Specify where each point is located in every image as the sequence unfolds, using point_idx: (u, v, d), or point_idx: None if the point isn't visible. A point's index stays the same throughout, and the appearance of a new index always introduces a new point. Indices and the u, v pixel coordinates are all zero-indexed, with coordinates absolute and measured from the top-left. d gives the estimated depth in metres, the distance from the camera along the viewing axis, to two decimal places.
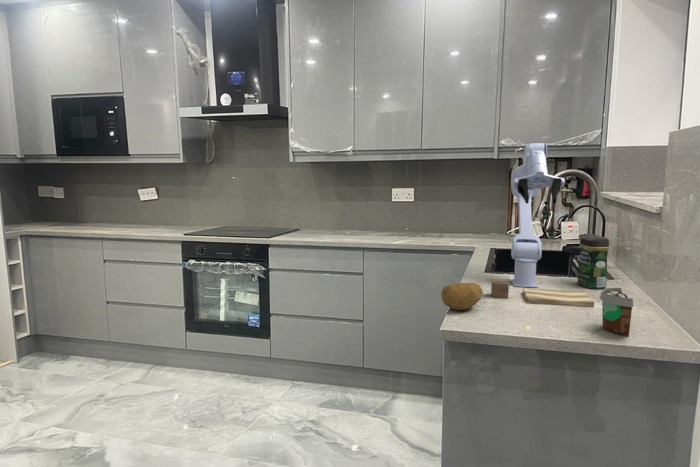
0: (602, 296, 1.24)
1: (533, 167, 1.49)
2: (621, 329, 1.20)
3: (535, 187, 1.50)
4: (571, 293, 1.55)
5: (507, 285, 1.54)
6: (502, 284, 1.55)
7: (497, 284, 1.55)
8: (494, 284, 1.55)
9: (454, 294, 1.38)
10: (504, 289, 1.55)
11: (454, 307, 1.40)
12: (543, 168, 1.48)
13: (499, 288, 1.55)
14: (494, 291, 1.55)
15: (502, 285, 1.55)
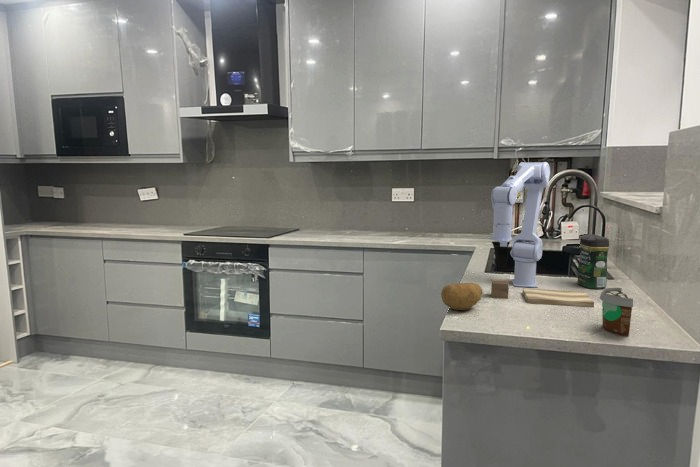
0: (602, 296, 1.24)
1: None
2: (621, 329, 1.20)
3: None
4: (571, 293, 1.55)
5: (507, 285, 1.54)
6: (502, 284, 1.55)
7: (497, 284, 1.55)
8: (494, 284, 1.55)
9: (454, 294, 1.38)
10: (504, 289, 1.55)
11: (454, 307, 1.40)
12: (494, 229, 1.54)
13: (499, 288, 1.55)
14: (494, 291, 1.55)
15: (502, 285, 1.55)
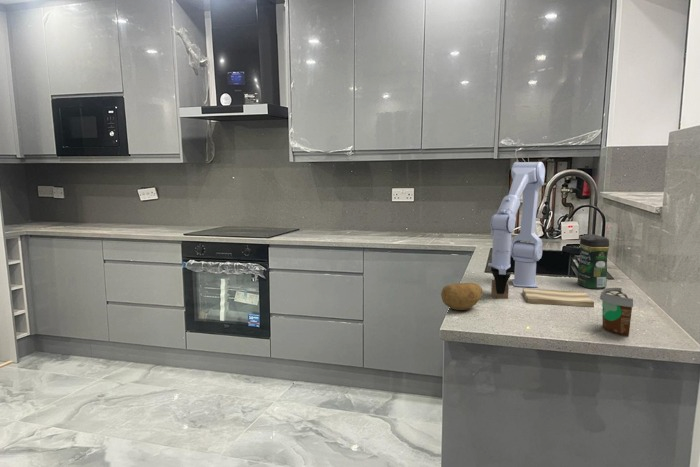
0: (602, 296, 1.24)
1: None
2: (621, 329, 1.20)
3: None
4: (571, 293, 1.55)
5: (507, 285, 1.54)
6: None
7: None
8: (494, 284, 1.55)
9: (454, 294, 1.38)
10: None
11: (454, 307, 1.40)
12: (493, 256, 1.55)
13: None
14: (494, 291, 1.55)
15: None
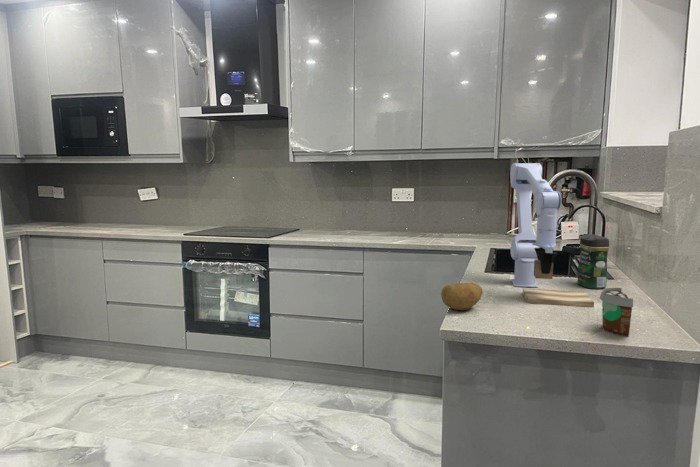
0: (602, 296, 1.24)
1: None
2: (621, 329, 1.20)
3: None
4: (571, 293, 1.55)
5: (552, 265, 1.50)
6: None
7: None
8: (538, 264, 1.51)
9: (454, 294, 1.38)
10: None
11: (454, 307, 1.40)
12: (538, 235, 1.51)
13: None
14: (538, 271, 1.52)
15: None
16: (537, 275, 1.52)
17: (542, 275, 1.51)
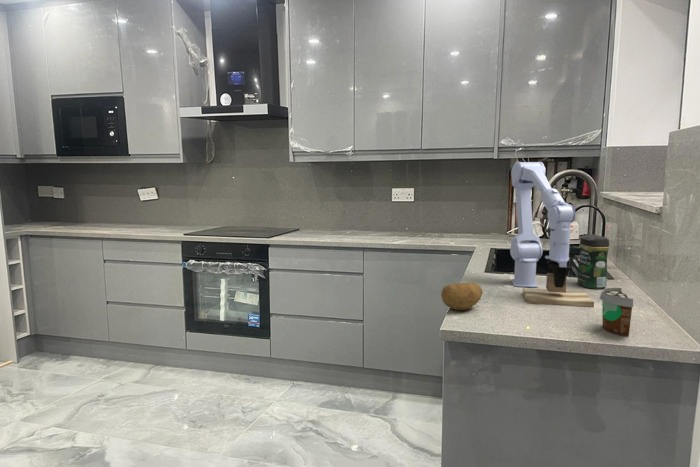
0: (602, 296, 1.24)
1: None
2: (621, 329, 1.20)
3: None
4: (571, 293, 1.55)
5: (565, 279, 1.50)
6: None
7: None
8: (551, 277, 1.51)
9: (454, 294, 1.38)
10: None
11: (454, 307, 1.40)
12: (551, 249, 1.51)
13: None
14: (551, 285, 1.51)
15: None
16: (550, 289, 1.51)
17: (555, 289, 1.51)
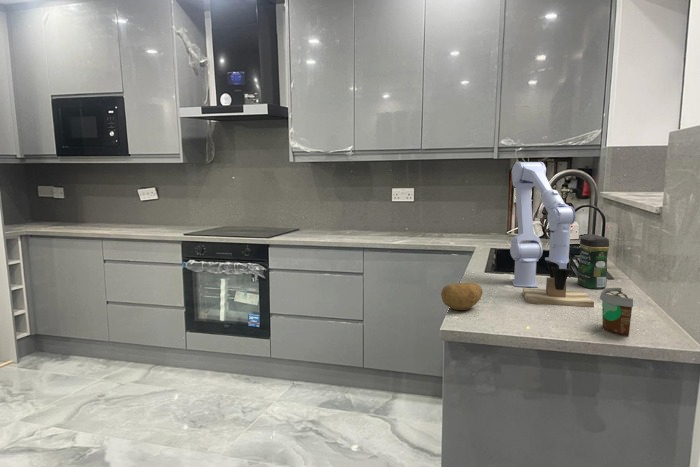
0: (602, 296, 1.24)
1: None
2: (621, 329, 1.20)
3: None
4: (571, 293, 1.55)
5: (565, 283, 1.50)
6: None
7: (554, 282, 1.51)
8: (551, 282, 1.51)
9: (454, 294, 1.38)
10: None
11: (454, 307, 1.40)
12: (551, 250, 1.51)
13: None
14: (551, 289, 1.51)
15: None
16: (550, 293, 1.52)
17: (555, 293, 1.51)
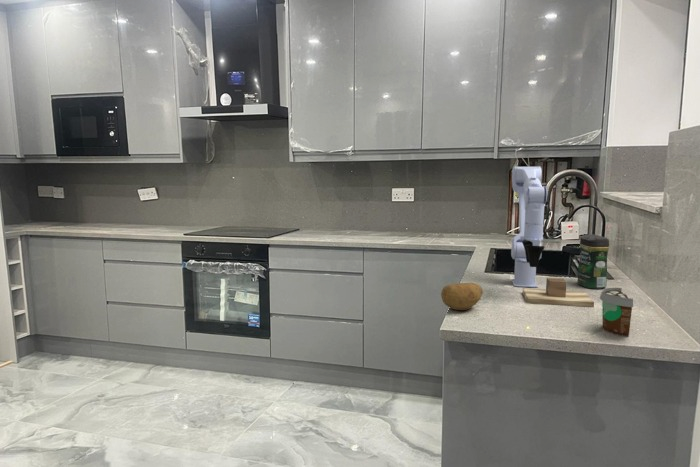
0: (602, 296, 1.24)
1: None
2: (621, 329, 1.20)
3: None
4: (571, 293, 1.55)
5: (565, 283, 1.50)
6: (559, 282, 1.51)
7: (554, 282, 1.51)
8: (551, 282, 1.51)
9: (454, 294, 1.38)
10: (561, 287, 1.51)
11: (454, 307, 1.40)
12: (525, 229, 1.55)
13: (556, 286, 1.51)
14: (551, 289, 1.51)
15: (560, 282, 1.50)
16: (550, 293, 1.52)
17: (555, 293, 1.51)
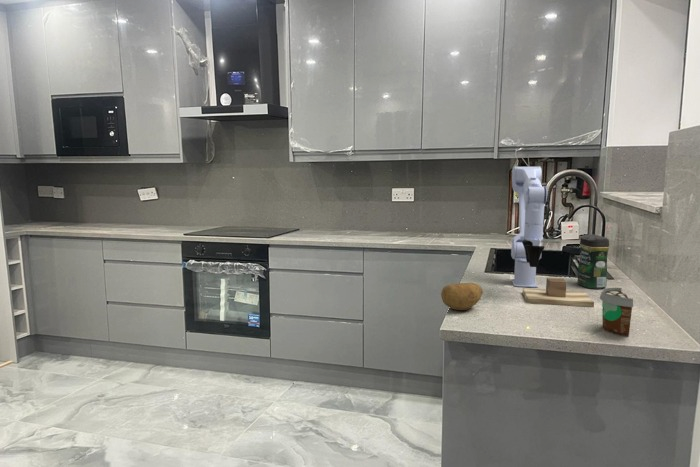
0: (602, 296, 1.24)
1: None
2: (621, 329, 1.20)
3: None
4: (571, 293, 1.55)
5: (565, 283, 1.50)
6: (559, 282, 1.51)
7: (554, 282, 1.51)
8: (551, 282, 1.51)
9: (454, 294, 1.38)
10: (561, 287, 1.51)
11: (454, 307, 1.40)
12: (525, 229, 1.55)
13: (556, 286, 1.51)
14: (551, 289, 1.51)
15: (560, 282, 1.50)
16: (550, 293, 1.52)
17: (555, 293, 1.51)
